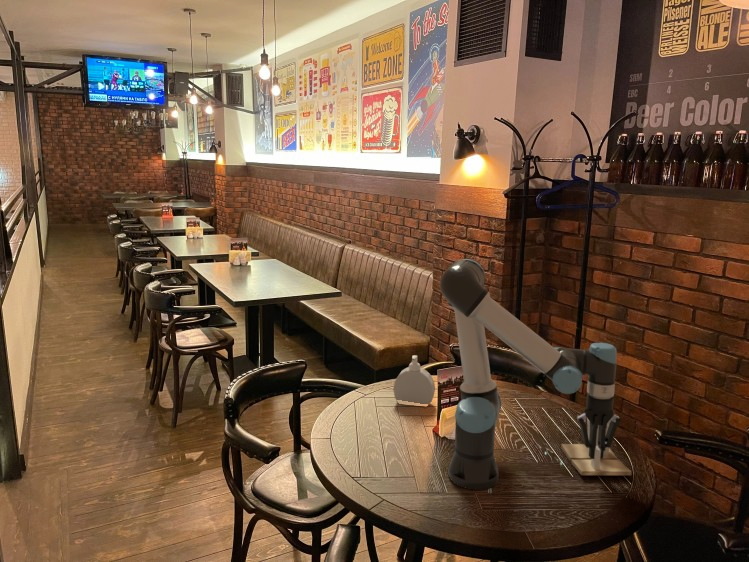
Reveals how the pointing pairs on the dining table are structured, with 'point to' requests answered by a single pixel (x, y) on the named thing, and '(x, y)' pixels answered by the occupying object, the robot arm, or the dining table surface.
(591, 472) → the plank
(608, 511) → the dining table surface
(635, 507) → the dining table surface
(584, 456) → the tan flat board
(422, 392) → the soap bottle
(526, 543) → the dining table surface
